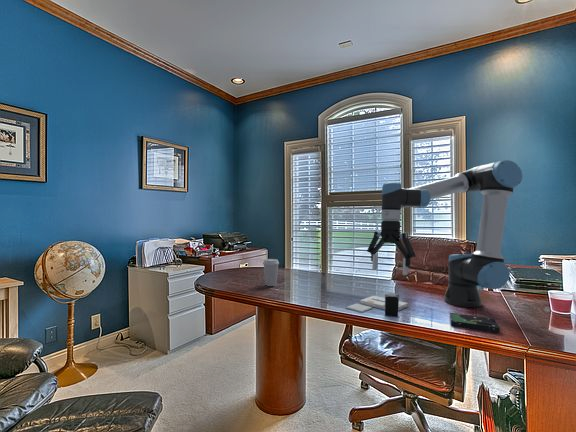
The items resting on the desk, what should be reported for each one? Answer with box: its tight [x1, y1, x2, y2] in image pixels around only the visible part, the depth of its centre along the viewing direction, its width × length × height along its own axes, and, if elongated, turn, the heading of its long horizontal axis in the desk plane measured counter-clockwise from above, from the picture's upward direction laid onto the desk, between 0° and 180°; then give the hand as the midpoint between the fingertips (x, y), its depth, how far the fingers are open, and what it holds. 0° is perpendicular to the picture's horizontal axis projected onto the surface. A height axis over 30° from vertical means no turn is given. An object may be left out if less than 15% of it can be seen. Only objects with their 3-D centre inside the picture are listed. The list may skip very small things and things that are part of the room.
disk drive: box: [449, 312, 500, 334], centre depth 109 cm, size 10×3×15 cm
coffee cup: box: [262, 258, 280, 287], centre depth 171 cm, size 10×10×15 cm
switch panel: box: [359, 295, 409, 312], centre depth 134 cm, size 17×12×2 cm
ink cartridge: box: [384, 294, 400, 318], centre depth 120 cm, size 5×2×8 cm, turn 76°
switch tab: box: [384, 292, 400, 303], centre depth 131 cm, size 4×5×4 cm
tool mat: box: [345, 303, 373, 313], centre depth 129 cm, size 8×8×1 cm
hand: (389, 272), depth 121 cm, fingers open, 13 cm apart
